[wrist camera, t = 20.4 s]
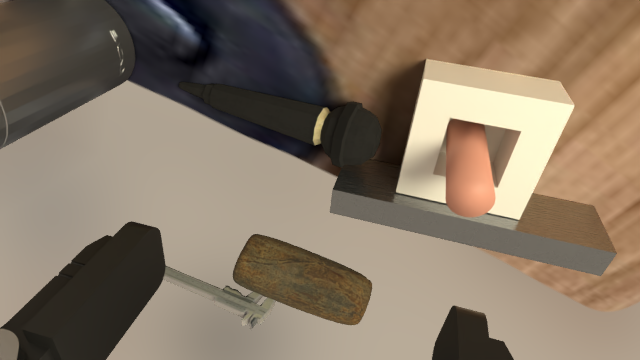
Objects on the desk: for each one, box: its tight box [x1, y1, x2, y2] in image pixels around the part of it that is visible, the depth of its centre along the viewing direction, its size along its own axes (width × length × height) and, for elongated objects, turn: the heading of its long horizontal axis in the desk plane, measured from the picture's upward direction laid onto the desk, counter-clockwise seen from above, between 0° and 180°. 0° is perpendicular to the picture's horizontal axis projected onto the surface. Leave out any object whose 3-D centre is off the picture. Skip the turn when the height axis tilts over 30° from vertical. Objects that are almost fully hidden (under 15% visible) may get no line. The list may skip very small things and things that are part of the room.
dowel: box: [445, 118, 496, 217], centre depth 30 cm, size 3×3×10 cm
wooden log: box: [233, 234, 372, 325], centre depth 46 cm, size 15×7×7 cm, turn 77°
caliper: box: [163, 266, 276, 329], centre depth 53 cm, size 20×1×6 cm, turn 89°
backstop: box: [330, 159, 617, 276], centre depth 35 cm, size 22×2×6 cm, turn 85°
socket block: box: [396, 59, 575, 220], centre depth 33 cm, size 10×10×5 cm
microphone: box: [179, 82, 382, 167], centre depth 37 cm, size 6×6×20 cm
